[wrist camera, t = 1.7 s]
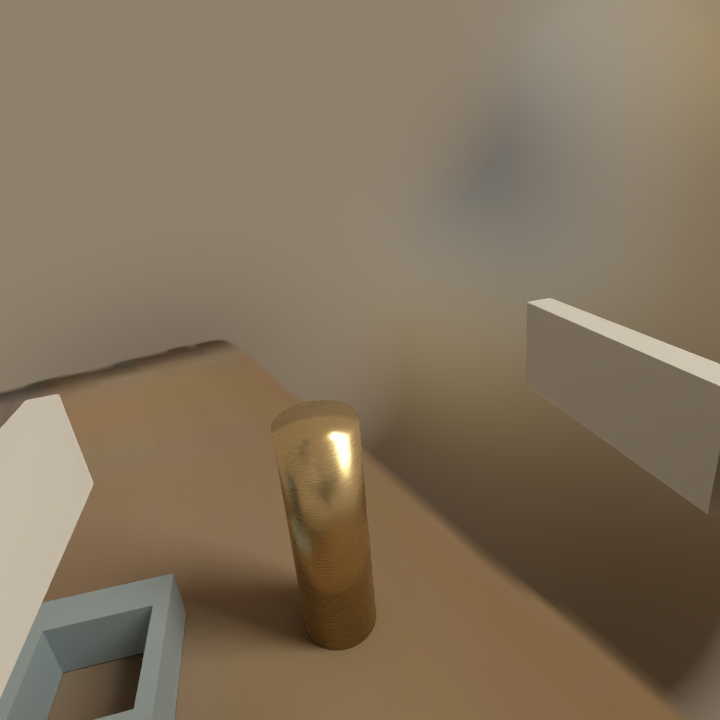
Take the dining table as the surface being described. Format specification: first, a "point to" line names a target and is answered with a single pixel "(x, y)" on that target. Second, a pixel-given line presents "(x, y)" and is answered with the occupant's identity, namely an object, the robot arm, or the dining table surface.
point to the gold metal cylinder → (327, 519)
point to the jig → (102, 647)
